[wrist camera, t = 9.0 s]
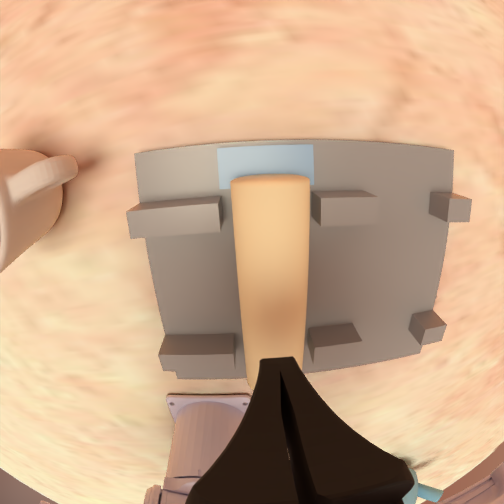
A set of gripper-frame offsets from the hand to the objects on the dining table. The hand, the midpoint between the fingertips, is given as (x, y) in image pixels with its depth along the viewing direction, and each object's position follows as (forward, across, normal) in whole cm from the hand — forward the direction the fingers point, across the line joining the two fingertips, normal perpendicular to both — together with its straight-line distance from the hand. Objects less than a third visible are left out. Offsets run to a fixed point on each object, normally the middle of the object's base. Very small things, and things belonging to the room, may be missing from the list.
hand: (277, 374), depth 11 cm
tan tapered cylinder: (+8, -1, 0) cm, 9 cm away
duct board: (+10, -3, 0) cm, 10 cm away
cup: (+10, +16, -8) cm, 20 cm away
